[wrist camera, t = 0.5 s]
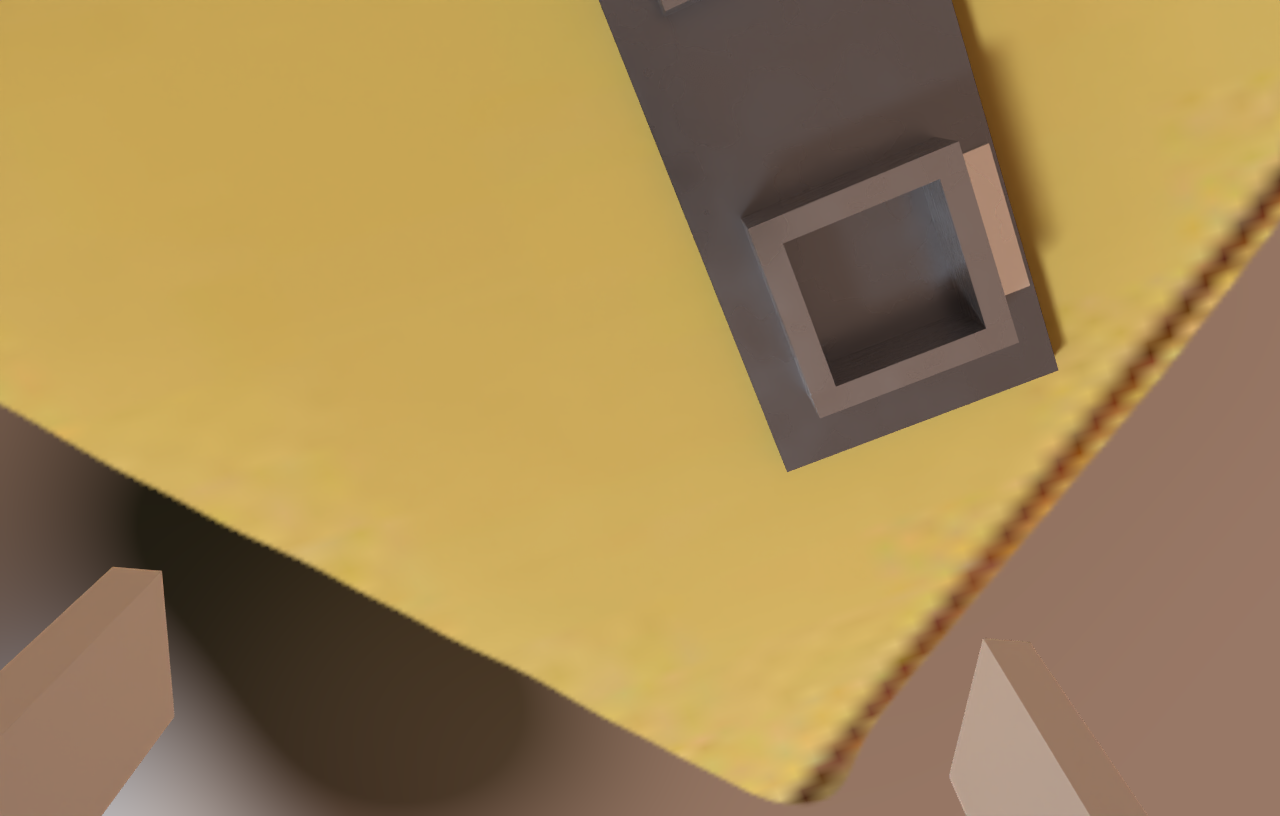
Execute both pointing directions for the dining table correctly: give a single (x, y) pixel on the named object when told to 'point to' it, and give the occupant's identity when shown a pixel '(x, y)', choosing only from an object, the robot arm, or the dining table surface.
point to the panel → (840, 206)
